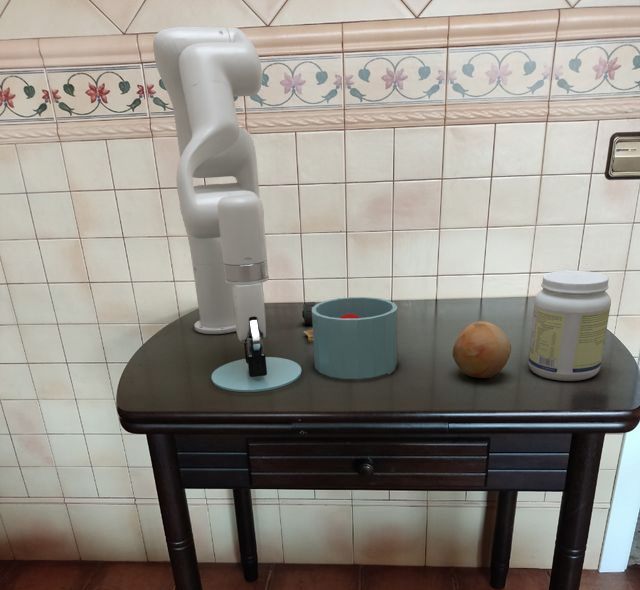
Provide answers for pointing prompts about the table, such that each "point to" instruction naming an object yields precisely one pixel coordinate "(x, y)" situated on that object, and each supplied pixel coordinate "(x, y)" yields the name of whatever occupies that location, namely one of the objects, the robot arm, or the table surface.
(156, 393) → the table surface
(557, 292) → the supplement tub
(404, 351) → the table surface
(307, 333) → the shard
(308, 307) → the flashlight
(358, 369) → the pot
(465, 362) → the onion
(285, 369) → the lid
